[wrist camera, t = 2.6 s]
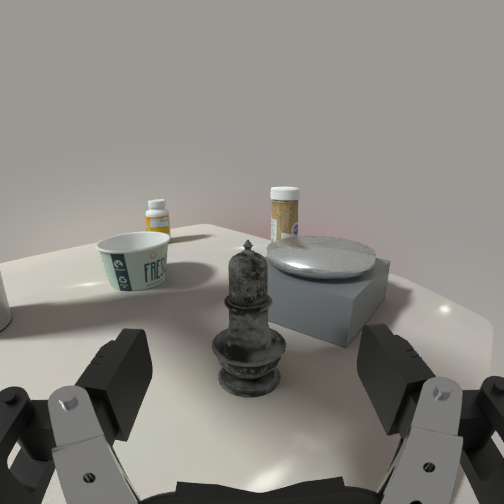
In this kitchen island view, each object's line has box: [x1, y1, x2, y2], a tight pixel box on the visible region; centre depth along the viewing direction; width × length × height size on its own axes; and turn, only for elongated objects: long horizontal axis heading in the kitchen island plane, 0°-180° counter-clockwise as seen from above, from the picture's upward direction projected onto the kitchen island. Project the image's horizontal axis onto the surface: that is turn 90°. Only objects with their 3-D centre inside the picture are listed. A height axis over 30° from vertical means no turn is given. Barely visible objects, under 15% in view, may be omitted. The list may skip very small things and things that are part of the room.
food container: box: [96, 232, 171, 291], centre depth 45 cm, size 12×12×6 cm
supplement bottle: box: [146, 199, 171, 243], centre depth 67 cm, size 5×5×10 cm
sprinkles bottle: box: [271, 187, 299, 243], centre depth 49 cm, size 5×5×14 cm
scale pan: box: [267, 236, 376, 279], centre depth 36 cm, size 13×13×3 cm
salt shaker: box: [212, 240, 286, 397], centre depth 23 cm, size 6×6×12 cm
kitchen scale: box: [265, 257, 390, 348], centre depth 37 cm, size 14×15×5 cm
